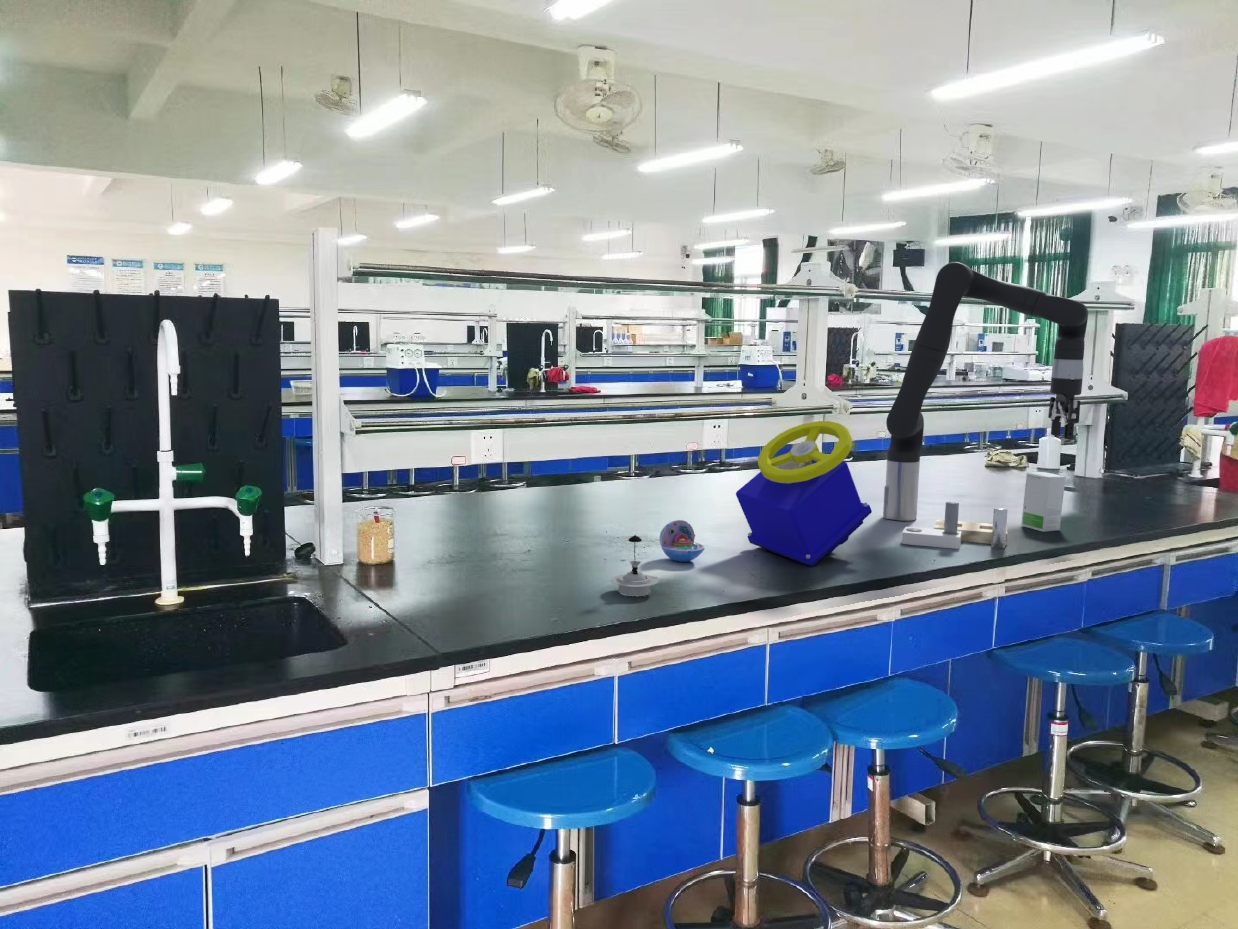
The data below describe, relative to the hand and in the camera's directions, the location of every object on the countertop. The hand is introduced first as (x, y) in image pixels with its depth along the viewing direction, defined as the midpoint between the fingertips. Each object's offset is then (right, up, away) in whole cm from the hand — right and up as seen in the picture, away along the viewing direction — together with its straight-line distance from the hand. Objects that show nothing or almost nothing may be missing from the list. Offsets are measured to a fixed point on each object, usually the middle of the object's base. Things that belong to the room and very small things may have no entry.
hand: (1061, 437), depth 243 cm
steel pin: (-22, -29, -12) cm, 38 cm away
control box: (-74, -30, -24) cm, 83 cm away
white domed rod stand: (-116, -34, -56) cm, 133 cm away
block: (-38, -28, -8) cm, 48 cm away
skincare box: (0, -26, +12) cm, 28 cm away
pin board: (-25, -27, -1) cm, 37 cm away
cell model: (-104, -31, -29) cm, 112 cm away
